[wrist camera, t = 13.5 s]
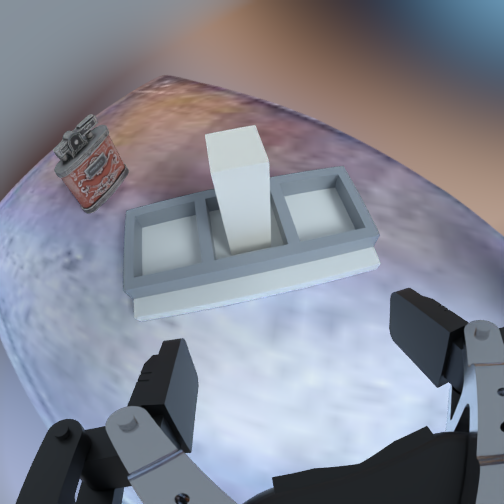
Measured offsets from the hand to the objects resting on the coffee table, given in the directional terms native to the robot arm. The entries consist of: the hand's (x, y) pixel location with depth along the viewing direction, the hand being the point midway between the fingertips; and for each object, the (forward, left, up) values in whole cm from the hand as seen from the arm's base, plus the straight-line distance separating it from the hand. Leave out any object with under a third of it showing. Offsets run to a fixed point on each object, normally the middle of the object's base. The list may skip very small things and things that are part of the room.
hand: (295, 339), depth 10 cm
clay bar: (0, -12, -11) cm, 17 cm away
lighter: (+16, -24, -13) cm, 32 cm away
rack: (0, -12, -12) cm, 18 cm away
